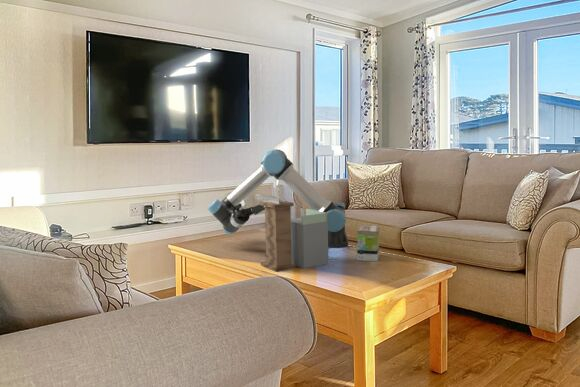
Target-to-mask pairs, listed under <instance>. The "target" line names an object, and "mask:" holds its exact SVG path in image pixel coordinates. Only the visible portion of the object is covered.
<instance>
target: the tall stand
mask: <svg viewBox="0 0 580 387" xmlns="http://www.w3.org/2000/svg"><path fill="white" fill-rule="evenodd" d="M284 201H285V203H280V204H279V203H273V202H268V201H263V200H261V201H259V204H260V205H262V206H265V210H264V222H265V223H264V226H265V227H264V228H265V232H264V233H265V256H266V257H265V259H266V260H265V261H261V262H260V267H261V266H262V267H263V268H265V269H266V268H267V269H269V270H270V271H274V272H275V273H276V272H277V273H278V272H280V271H286V270H291V269H295V268H296V267H295V266H296V265H294V264H292V258H291V219H292V217H291V216H292V215H291V211H292V210H291V207H294V205H295V204H294V202H292V201H288V200H287V201H286V200H284Z"/></svg>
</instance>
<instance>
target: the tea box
mask: <svg viewBox="0 0 580 387" xmlns="http://www.w3.org/2000/svg"><path fill="white" fill-rule="evenodd" d="M357 229H358V230H357V249H356V250H357V254H356V256H357V258H356V260H357V261H359V262H360V261H363V262H378V260H379V253H380V226H379V225H359V226H358V228H357Z"/></svg>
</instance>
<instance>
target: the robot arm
mask: <svg viewBox="0 0 580 387" xmlns="http://www.w3.org/2000/svg"><path fill="white" fill-rule="evenodd" d="M269 177H274V179H275V180H277V181H282V182H283V183H284V184H285V185H286V186H287V187H288V188H290V190H291V191H292V192H293V193H294V194H296V196H298V197H299V199H301V200H302V201H303V202H304V203H305V205H307V206H308V207H309V208H310V209H311V210H316V211H321V212H326V213H328V248H344V247H347V246H349V238H348V236H347V232H346V222H347V218H346V204H345V203H344V202H333V201H332V200H327V199H326V198H325V197H324V196H323V195H322V194H321V193H320V192H319V191H318V190H317V189H315V188H314V187H313V185H311V183H310V182H308V180H307V179H305V178H304V177H303V176H302V175H301V174H300V172H298V171H297V170H296V169H295V168H294V163H293V162H292V161H291V160H290V159H289V158H288V155H287V154H286V153H285V151H283V150H281V149H272V150H268V151H267V152H266V153H265V154H264V156H263V158H262V161H261V162H260V166H258V168H256V169H255V171H253V172H251V174H250V175H248V177H247V178H245V179H244V180H243V181H241V183H240V184H239V185H238V186H237V187H235V188H234V190H232V191H231V192H230V193H229V194H228V195H227V196H226V197H224V198H223V200H221V201H220V199H215V200H214V201H213V202H211V203H210V204H209V206H208V207H207V210H208V211H209V212H210V214H211V215H213V216H214V218H216V220H218V222H220V223H221V225H222V230H223V232H224V233H225V234H227V235H234V234H235V233H236V232H237V231H238V230H239V229H240V228H241V227H242V226H243V225H245V224H246V223H247V222H248V221H249V219H250V217H251V216H252V215H255V216H256V215H258V214H259V213H261V212H262V211H265V206H262V205H260V203H259V204H257V205H255V206H250V207H248V208H245V207H246V205H247V202H246V198H248V197H249V195H251V194H252V193H253V192H254V191H256V190H257V189H258V188H259V187H260V186H261V185H262V184H264V182H265V181H266V180H268V178H269Z"/></svg>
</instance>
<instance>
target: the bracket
mask: <svg viewBox="0 0 580 387" xmlns="http://www.w3.org/2000/svg"><path fill="white" fill-rule="evenodd" d="M275 192H276V193H275V196H273V195H266V194H262V193H261V194H254V200H258V201H259V200H260V201H268V202H273V203H279V204H280V203H285V201H286V200H285V185H284V184H276V185H275Z"/></svg>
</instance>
